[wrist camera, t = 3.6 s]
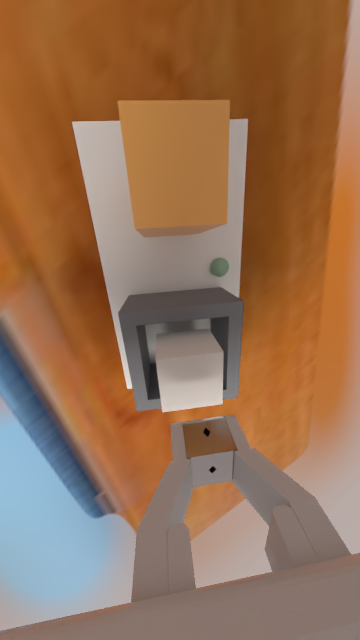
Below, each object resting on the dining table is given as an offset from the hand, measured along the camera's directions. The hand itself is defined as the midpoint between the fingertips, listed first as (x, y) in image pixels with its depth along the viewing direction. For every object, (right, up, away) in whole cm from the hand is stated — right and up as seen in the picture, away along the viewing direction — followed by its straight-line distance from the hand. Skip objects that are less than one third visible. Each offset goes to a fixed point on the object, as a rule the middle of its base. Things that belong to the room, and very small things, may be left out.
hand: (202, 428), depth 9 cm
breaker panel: (-2, +9, +9) cm, 13 cm away
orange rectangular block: (-2, +14, +6) cm, 15 cm away
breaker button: (-1, +2, +6) cm, 7 cm away
